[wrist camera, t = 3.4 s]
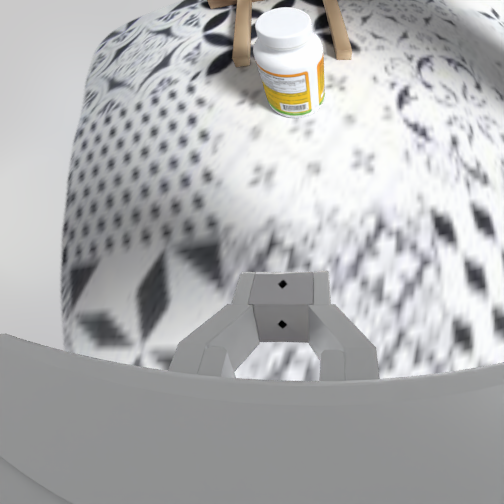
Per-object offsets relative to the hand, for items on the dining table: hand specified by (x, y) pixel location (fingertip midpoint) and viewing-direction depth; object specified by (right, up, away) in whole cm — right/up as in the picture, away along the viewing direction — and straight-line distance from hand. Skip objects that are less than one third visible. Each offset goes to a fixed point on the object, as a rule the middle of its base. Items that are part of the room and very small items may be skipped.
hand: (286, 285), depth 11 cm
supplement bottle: (+3, +16, +16) cm, 22 cm away
